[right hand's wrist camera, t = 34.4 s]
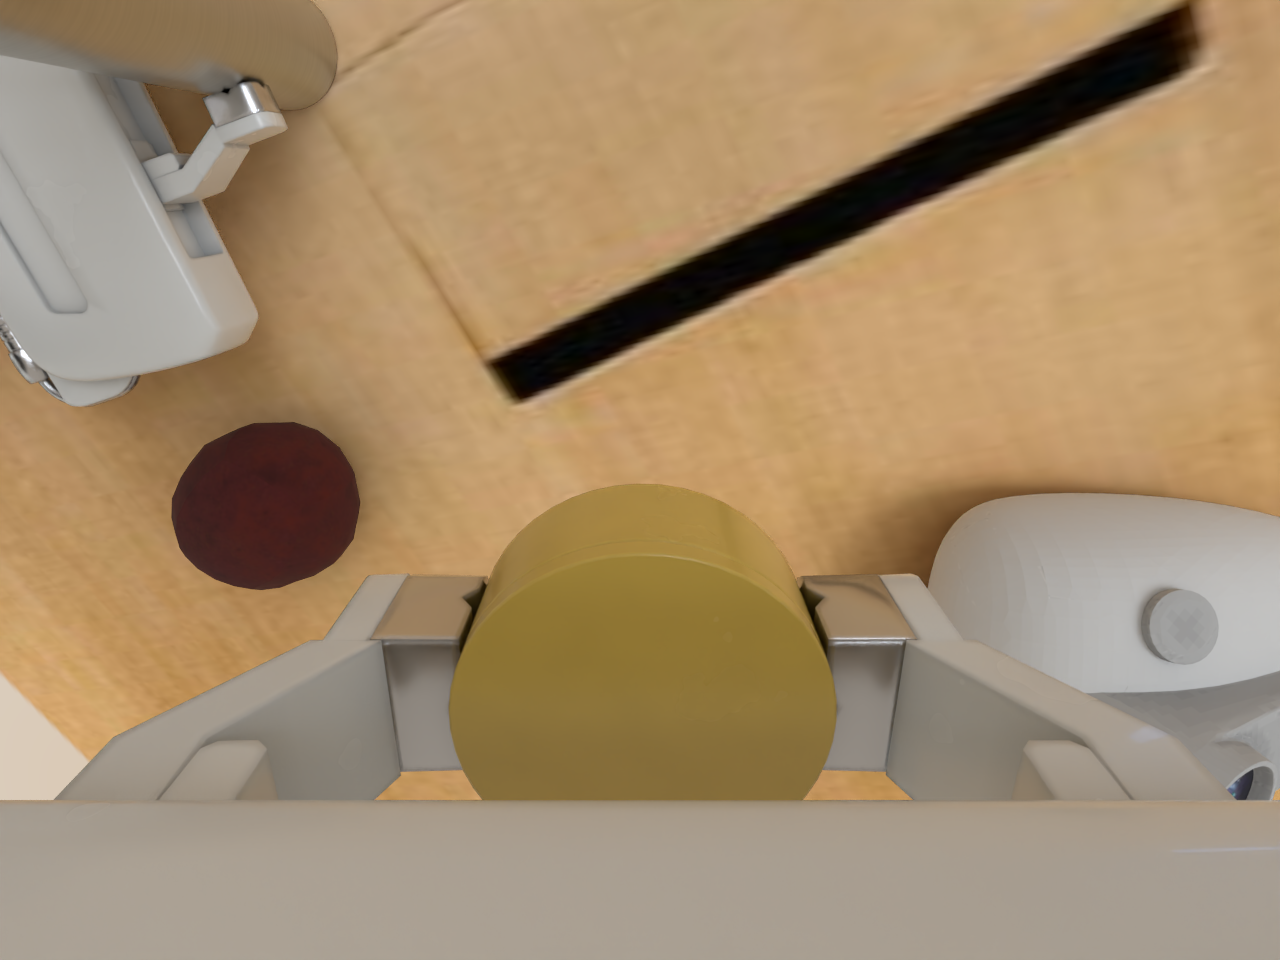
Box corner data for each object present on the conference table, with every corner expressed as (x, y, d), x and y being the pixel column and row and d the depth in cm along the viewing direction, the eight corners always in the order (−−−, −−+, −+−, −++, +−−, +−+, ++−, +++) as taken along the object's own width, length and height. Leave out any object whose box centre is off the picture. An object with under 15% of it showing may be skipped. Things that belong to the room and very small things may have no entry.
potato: (204, 498, 38) (111, 566, 31) (267, 371, 35) (180, 415, 29) (339, 572, 39) (277, 651, 32) (409, 454, 37) (357, 514, 30)
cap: (814, 737, 10) (849, 847, 9) (520, 774, 11) (497, 889, 9) (788, 457, 9) (823, 525, 7) (446, 509, 9) (401, 585, 7)
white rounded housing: (1052, 844, 45) (1225, 1128, 32) (782, 627, 40) (852, 858, 26) (1400, 604, 39) (1801, 831, 26) (1136, 308, 34) (1467, 396, 20)
